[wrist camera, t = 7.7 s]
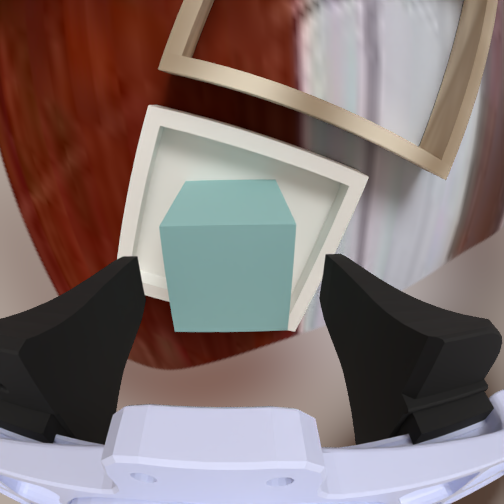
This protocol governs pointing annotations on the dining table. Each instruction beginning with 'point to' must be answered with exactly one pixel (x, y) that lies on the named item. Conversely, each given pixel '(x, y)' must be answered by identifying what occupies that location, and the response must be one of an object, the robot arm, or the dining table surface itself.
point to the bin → (425, 156)
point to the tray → (235, 168)
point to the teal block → (229, 256)
